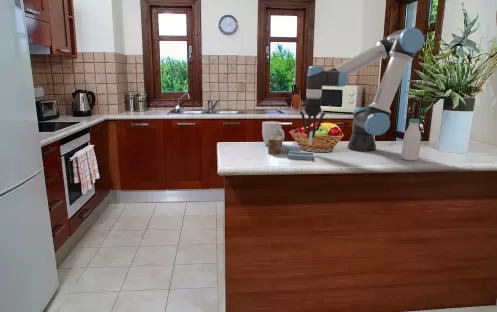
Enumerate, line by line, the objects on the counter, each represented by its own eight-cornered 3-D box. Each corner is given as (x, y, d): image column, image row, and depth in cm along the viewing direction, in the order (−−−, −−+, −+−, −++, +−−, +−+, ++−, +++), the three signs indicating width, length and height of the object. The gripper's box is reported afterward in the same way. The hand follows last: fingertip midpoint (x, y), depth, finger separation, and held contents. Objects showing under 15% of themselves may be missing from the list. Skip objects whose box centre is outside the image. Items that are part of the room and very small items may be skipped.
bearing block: (282, 149, 192) (282, 136, 191) (279, 154, 181) (280, 140, 180) (271, 149, 194) (271, 135, 192) (268, 153, 183) (268, 139, 181)
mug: (289, 146, 203) (290, 123, 200) (276, 148, 196) (277, 125, 193) (270, 142, 214) (271, 120, 211) (257, 144, 206) (258, 122, 203)
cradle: (313, 156, 178) (313, 152, 178) (312, 160, 170) (312, 156, 169) (289, 154, 181) (289, 151, 180) (287, 158, 172) (287, 154, 172)
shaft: (299, 152, 187) (300, 145, 187) (300, 154, 184) (300, 146, 183) (271, 151, 189) (271, 144, 188) (271, 153, 185) (271, 145, 185)
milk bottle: (417, 161, 170) (422, 120, 166) (399, 159, 174) (404, 119, 170) (419, 158, 176) (424, 118, 172) (402, 156, 180) (407, 117, 176)
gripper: (326, 98, 180) (323, 143, 185) (301, 96, 182) (298, 141, 187) (326, 98, 173) (323, 146, 178) (300, 97, 175) (297, 144, 180)
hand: (310, 143), depth 183 cm, fingers closed
